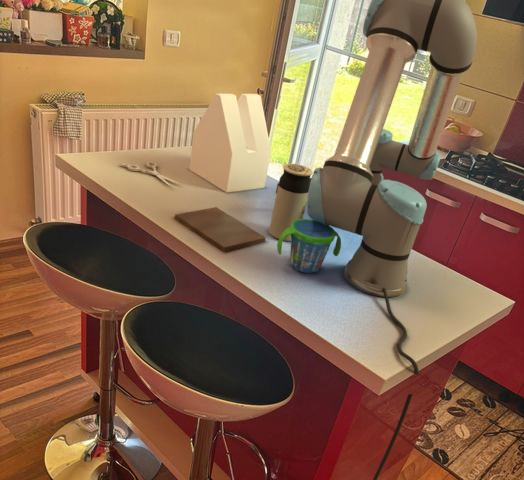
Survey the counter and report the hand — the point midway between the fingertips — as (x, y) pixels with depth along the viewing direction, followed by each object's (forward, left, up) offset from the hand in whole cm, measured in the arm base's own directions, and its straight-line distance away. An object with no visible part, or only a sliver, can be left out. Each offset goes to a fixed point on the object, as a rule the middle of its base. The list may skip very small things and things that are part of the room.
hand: (296, 198), depth 141 cm
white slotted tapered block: (+39, +2, -10) cm, 41 cm away
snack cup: (-18, +5, -10) cm, 21 cm away
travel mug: (-1, +2, -10) cm, 10 cm away
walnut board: (+3, +19, -10) cm, 22 cm away
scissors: (+40, +25, -10) cm, 48 cm away
